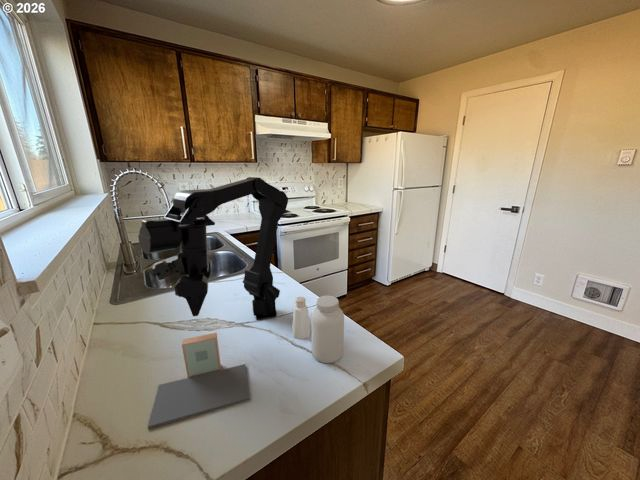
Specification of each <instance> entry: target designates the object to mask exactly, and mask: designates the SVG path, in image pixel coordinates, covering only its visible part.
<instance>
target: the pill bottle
mask: <svg viewBox="0 0 640 480" xmlns="http://www.w3.org/2000/svg"><path fill="white" fill-rule="evenodd" d="M339 302H340V301H339V299H338V298H337V297H335V296H333V295H322V296H319V297H318V298H317V299H316V307H315V308H314V309H313V311H312V312H311V319H310V322H311V323H310V327H311V353H312V357H313V358H314V359H315V360H316V361H317V362H320V363H323V364H332V363H333V364H334V363H335V362H338V361H339V360H340V359H342V356H343V353H344V337H345V335H344V334H345V333H344V332H345V314H344V311H343V310H342V309H341V308H340V304H339Z"/></svg>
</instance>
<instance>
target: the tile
mask: <svg viewBox="0 0 640 480" xmlns="http://www.w3.org/2000/svg"><path fill="white" fill-rule="evenodd" d="M217 333H218V332H213V333H212V332H211V333H208V334H203V335H198V336H197V335H196V336H193V337H187V338H183V339H182V342H181V348H182V354H183V359H184V364H185V370H186V375H187V377H186V378H189V377H193V376H198V375H202V374H206V373H210V372H214V371H218V370H222V363H221V356H220V355H221V353H220V348H219V342H218V341H219V340H218V334H217Z"/></svg>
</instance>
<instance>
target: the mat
mask: <svg viewBox="0 0 640 480" xmlns="http://www.w3.org/2000/svg"><path fill="white" fill-rule="evenodd" d="M247 375H248V374H247V369H246V363H243V364H240V365H236V366H231V367H227V368H224V369H223V368H221V370H218V371H214V372H210V373H206V374H202V375H198V376H193V377H189V378H188V377H185V378H181V379H177V380H174V381H168V382H165V383H161V384H159V385H158V388H157V391H156V395H155V399H154V402H153V407H152V409H151V413H150V418H149V419H148V423H147V430H148V429H153V428H157V427H160V426H165V425H167V424H171V423H174V422H177V421H181V420H184V419H188V418H191V417H195V416H199V415H202V414H205V413H209V412H212V411H216V410H219V409H223V408H226V407H230V406H233V405H236V404H237V405H238V404H240V403H243V402H249V401H250V393H249V386H248V385H249V384H248V377H247Z"/></svg>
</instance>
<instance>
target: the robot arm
mask: <svg viewBox="0 0 640 480" xmlns="http://www.w3.org/2000/svg"><path fill="white" fill-rule="evenodd" d="M250 195H251V196H252V198H253V199H255V200H256V201H258V211H259V214H260V216H261V221H260V227H259V233H258V238H257V243H256V249H255V254H254V260H253V261H254V262H253V265H251V267H250V269H245V270H244V277H243V280H242V284H243V287H244V289H245V291H246V292H248V294H249V295H250V296H252V297H253V299H252V300H251V302H252V303H251V304H252V312H253V316H255V319H256V320H257V321H259V320H263V319H264V320H265V319H269V318H274V317H277V316H278V313H277V309H276V308H277V307H276V300H277V298H279V297H280V292H281V289H279V288H277V287H276V286H274V284H273V283H274V276H273V273H272V270H271V264H272V259H273V253H274V246H275V241H276V235H277V230H278V224H279V221H280V220H281V219H282V217H283V216H284V215H285V213H286V210H287V207H288V203H289V197H288V195H287V194H286V192H284V191H283V190H280V189H278V188H277V187H276V186H274V185H271V184H270V183H267V182H266V181H265V180H264V179H263V178H261V177H256V176H254V177H251V176H247V177H246V178H245V179H241V180H238V181H234V182H230V183H227V184H223V185H219V186H216V187H212V188H206V189H204V188H202V189H185V190H180V191H178V192H177V193H175V194H174V197H173V199H172V200H173V201H172V205H170V208H169V209H168V210H167V212H166V213H165V215H164V217H163V219H142V220H141V226H140V229H139V232H138V233H139V234H138V236H137V237H138V242H139V246H140V249H141V250H142V252H143V253H144V254H146V255H147V254H153V253H158V252H159V253H160V252H165V251H171V250H176V249H177V248H178V247H179V252H178V253H177V255H173V256H170V257H168V258H166V259H163V260H160V261H158V262H156V263H155V264H154V265H153V266H152V267H151V269H152V272H153V273H152V275H153V277H156V278H157V280H158V281H162V280H165V278H168V277H170V276H172V275H175V274H178V276H181V277H180V278H178V280H177V281H176V283H175V285H174V294H175V296H177V297H179V298H183V299H185V300H186V302H187V305H188V308H189V310H190V312H191V314H192V317H198V316H199V314H200V312H201V309H202V306H203V304H204V301H205V298H206V296H207V294H208V291H209V278H210V275H211V273H212V260H211V259H210V257H208V252H209V246H208V239H207V238H208V237H207V236H208V234H207V227H210V226H215V225H216V223H215V221H214V220H212V219H211V218H210V217H209V214H211V213H212V212H214V211H215V210H216V209H217V208H218V207H219V206H221V205H224V204H226V203H229V202H232V201H235V200H239V199H241V198H245V197H246V196H250ZM184 275H185V276H184Z"/></svg>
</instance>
